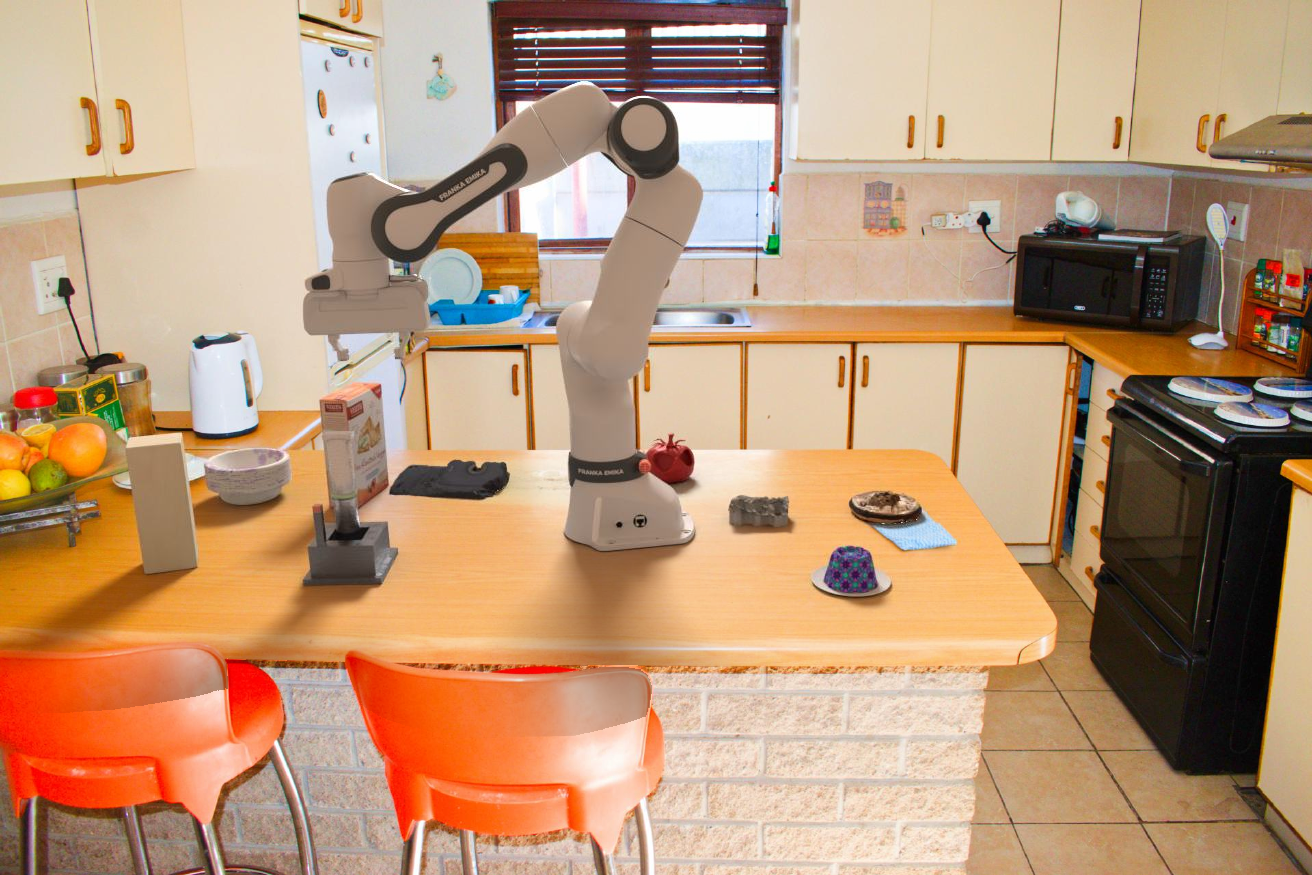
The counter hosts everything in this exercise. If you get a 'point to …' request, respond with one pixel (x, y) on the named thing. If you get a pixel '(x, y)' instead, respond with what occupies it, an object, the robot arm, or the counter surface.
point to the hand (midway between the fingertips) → (372, 359)
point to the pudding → (851, 573)
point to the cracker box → (359, 435)
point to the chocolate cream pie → (884, 507)
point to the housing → (348, 553)
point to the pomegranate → (671, 460)
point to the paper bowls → (248, 474)
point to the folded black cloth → (452, 480)
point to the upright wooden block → (162, 502)
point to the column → (342, 480)
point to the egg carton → (758, 510)
